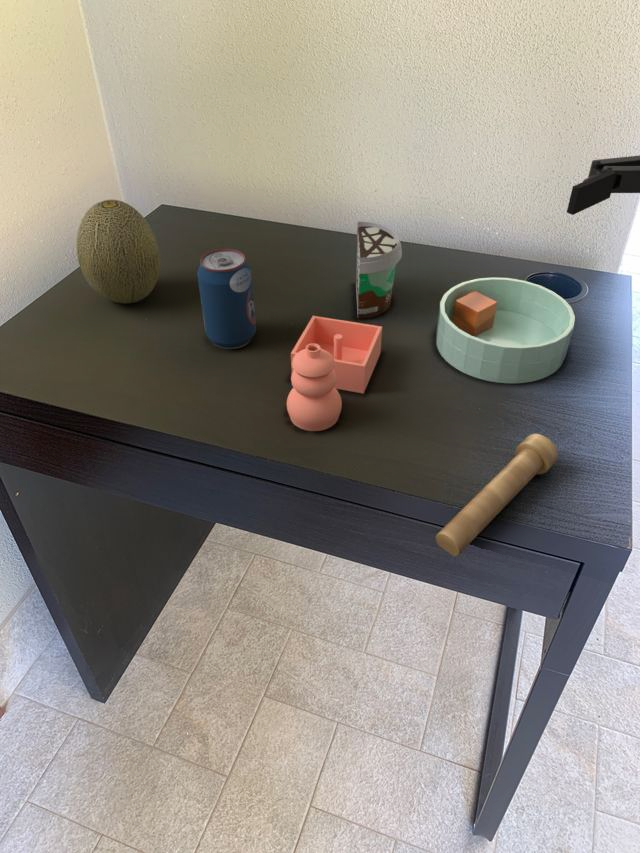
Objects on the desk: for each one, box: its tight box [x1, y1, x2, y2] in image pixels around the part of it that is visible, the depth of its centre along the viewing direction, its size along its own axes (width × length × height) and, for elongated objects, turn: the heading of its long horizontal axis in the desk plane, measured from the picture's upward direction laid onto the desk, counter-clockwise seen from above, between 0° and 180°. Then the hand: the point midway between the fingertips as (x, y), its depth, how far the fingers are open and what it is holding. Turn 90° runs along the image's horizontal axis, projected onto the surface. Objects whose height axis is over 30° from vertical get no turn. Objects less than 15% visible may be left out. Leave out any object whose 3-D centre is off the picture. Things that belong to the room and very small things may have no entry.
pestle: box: [435, 433, 559, 557], centre depth 70 cm, size 4×4×17 cm
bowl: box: [435, 276, 576, 384], centre depth 91 cm, size 17×17×6 cm
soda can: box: [196, 248, 257, 350], centre depth 91 cm, size 7×7×12 cm
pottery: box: [286, 315, 383, 432], centre depth 83 cm, size 18×10×10 cm, turn 163°
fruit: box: [76, 199, 161, 304], centre depth 98 cm, size 11×11×15 cm
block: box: [453, 291, 497, 337], centre depth 94 cm, size 4×4×4 cm
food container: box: [355, 220, 403, 319], centre depth 98 cm, size 12×6×10 cm, turn 179°
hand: (634, 223), depth 64 cm, fingers open, 13 cm apart
